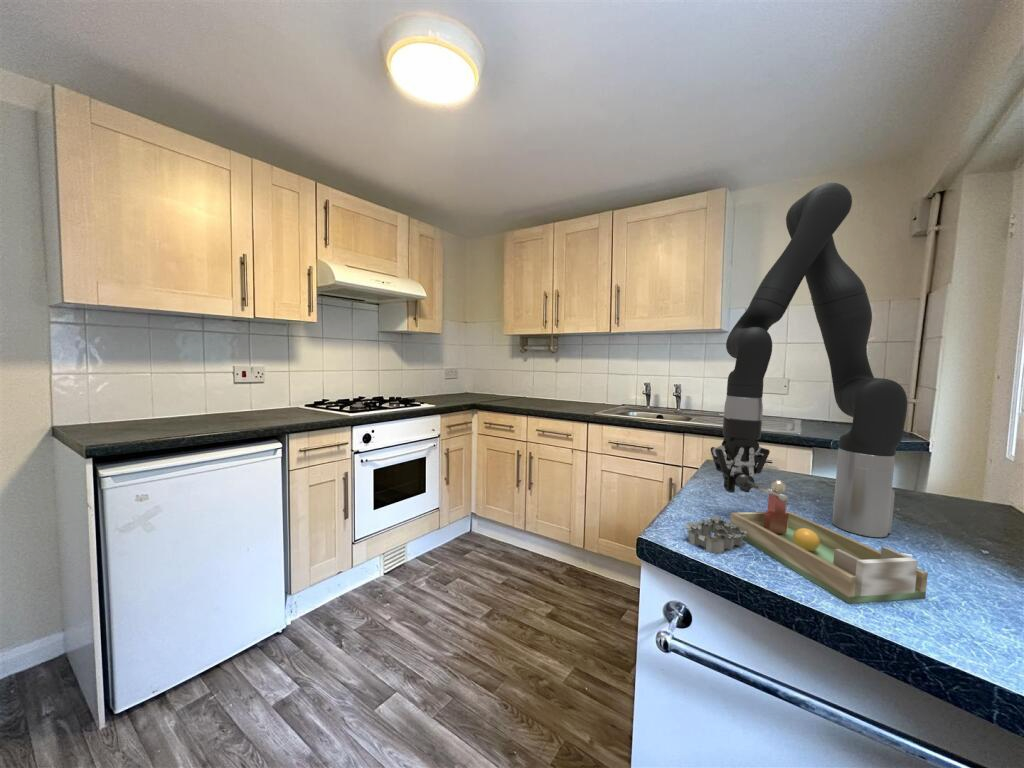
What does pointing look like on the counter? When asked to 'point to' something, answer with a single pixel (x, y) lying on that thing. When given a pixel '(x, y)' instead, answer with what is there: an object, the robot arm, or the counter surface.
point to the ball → (806, 539)
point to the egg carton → (715, 534)
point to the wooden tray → (838, 561)
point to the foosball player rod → (769, 501)
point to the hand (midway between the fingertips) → (737, 491)
